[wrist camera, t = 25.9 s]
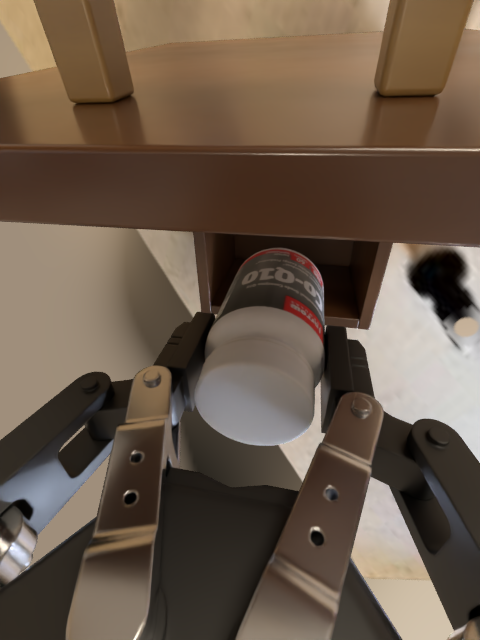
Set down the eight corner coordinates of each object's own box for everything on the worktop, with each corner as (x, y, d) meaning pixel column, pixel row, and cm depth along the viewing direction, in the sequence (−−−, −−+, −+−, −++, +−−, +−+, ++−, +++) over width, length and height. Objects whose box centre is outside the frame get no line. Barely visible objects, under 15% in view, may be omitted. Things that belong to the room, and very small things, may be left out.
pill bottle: (337, 260, 15) (355, 382, 9) (305, 332, 18) (300, 467, 12) (245, 234, 16) (193, 334, 9) (227, 309, 18) (177, 429, 12)
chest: (355, 270, 30) (369, 330, 22) (229, 261, 32) (201, 313, 25) (400, 63, 21) (448, 41, 14) (221, 70, 24) (174, 54, 16)
